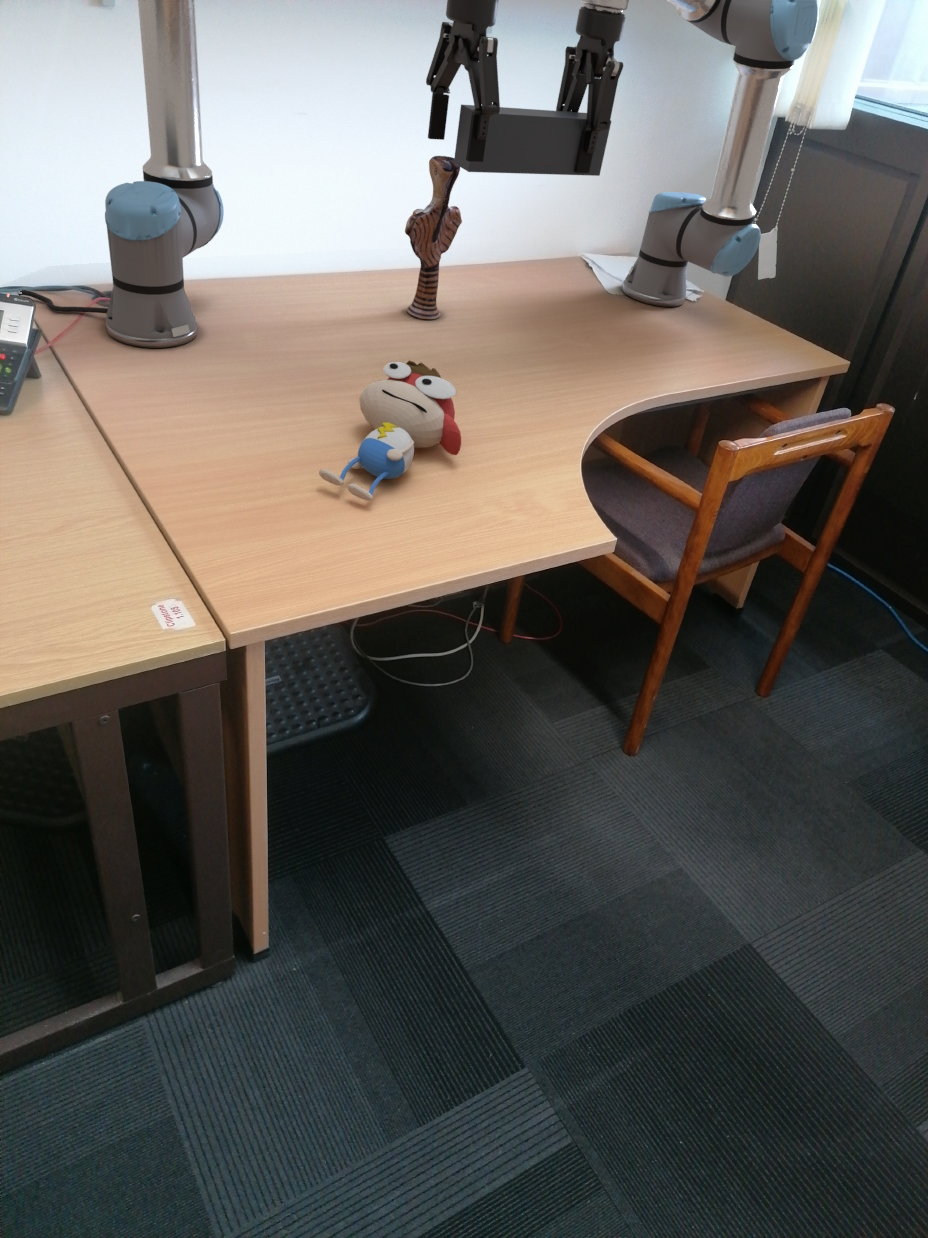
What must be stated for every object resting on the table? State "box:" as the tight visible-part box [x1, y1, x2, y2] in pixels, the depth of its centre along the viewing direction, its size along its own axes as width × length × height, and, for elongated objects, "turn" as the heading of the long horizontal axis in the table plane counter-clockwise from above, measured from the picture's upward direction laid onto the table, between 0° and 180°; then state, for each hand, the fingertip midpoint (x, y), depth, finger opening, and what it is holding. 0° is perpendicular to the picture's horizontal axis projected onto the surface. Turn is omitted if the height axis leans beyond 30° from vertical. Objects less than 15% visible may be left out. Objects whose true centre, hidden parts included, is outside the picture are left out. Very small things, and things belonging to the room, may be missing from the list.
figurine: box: [404, 155, 463, 320], centre depth 174 cm, size 15×8×30 cm, turn 144°
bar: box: [453, 104, 612, 177], centre depth 149 cm, size 26×5×9 cm, turn 118°
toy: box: [318, 360, 462, 502], centre depth 133 cm, size 18×10×30 cm
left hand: (454, 149), depth 144 cm, fingers open, 13 cm apart
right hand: (572, 166), depth 156 cm, fingers closed on bar, 5 cm apart
